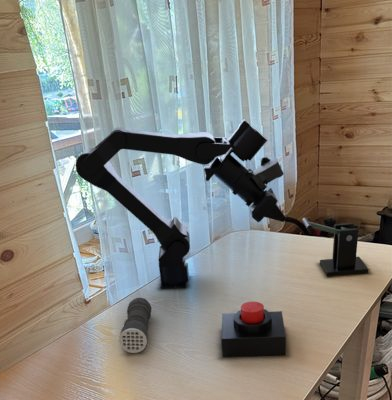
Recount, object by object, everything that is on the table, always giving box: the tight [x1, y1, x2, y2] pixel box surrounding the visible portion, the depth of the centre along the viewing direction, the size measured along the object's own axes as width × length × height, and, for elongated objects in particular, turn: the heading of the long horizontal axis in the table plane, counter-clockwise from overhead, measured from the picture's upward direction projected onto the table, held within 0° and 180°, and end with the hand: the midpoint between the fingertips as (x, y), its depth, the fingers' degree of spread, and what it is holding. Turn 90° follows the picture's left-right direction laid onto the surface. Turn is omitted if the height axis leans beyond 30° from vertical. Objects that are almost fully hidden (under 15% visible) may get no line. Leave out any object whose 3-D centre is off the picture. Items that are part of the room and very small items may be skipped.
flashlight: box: [118, 297, 152, 354], centre depth 108 cm, size 15×5×5 cm, turn 0°
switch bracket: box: [319, 222, 369, 278], centre depth 126 cm, size 10×8×11 cm
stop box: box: [220, 308, 287, 358], centre depth 101 cm, size 12×10×6 cm
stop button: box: [240, 301, 265, 323], centre depth 99 cm, size 4×4×2 cm
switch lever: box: [301, 217, 349, 235], centre depth 123 cm, size 12×6×2 cm, turn 92°
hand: (285, 220), depth 121 cm, fingers closed
